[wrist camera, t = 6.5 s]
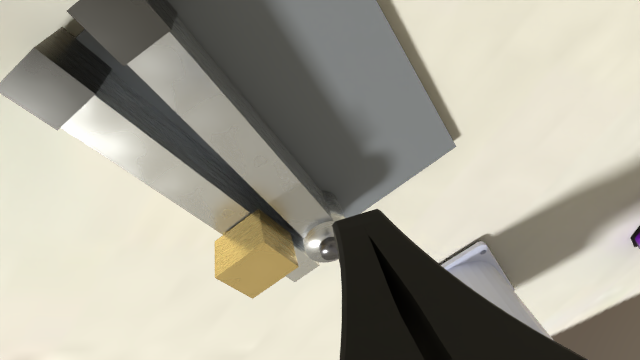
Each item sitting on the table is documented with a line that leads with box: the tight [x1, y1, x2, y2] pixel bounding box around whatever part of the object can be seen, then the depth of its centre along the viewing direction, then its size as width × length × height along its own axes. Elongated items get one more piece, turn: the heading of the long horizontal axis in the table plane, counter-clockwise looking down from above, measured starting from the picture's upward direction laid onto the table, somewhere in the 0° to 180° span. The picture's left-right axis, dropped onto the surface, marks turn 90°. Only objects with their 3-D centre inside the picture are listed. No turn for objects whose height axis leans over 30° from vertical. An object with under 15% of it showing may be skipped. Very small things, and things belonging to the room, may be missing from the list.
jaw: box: [67, 0, 345, 262], centre depth 16 cm, size 15×3×4 cm, turn 30°
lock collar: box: [215, 209, 299, 298], centre depth 17 cm, size 2×3×2 cm
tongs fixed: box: [0, 27, 319, 282], centre depth 17 cm, size 16×2×3 cm, turn 35°
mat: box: [76, 0, 456, 218], centre depth 17 cm, size 16×12×1 cm
